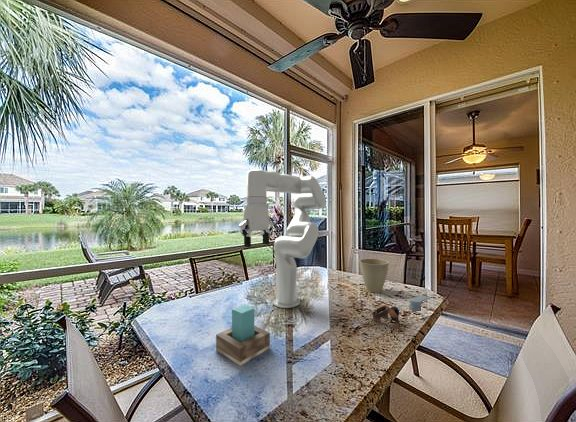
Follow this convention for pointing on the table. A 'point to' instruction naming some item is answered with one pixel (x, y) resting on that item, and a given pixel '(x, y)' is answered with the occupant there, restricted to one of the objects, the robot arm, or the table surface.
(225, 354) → the walnut well
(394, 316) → the brown toy animal
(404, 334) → the table surface
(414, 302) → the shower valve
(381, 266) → the plant pot
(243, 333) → the teal block
